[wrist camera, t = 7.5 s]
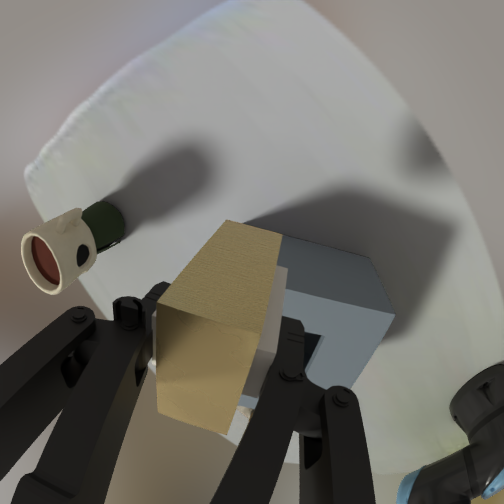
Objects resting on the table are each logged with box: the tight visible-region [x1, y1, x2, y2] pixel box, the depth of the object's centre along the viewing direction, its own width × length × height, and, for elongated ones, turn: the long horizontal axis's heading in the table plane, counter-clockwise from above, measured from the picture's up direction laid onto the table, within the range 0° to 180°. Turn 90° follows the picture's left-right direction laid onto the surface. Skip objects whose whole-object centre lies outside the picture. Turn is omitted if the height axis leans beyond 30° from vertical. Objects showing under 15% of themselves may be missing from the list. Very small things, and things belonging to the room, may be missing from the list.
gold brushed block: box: [156, 220, 283, 435], centre depth 12 cm, size 3×6×8 cm, turn 168°
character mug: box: [21, 202, 124, 295], centre depth 28 cm, size 11×7×13 cm, turn 143°
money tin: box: [238, 235, 396, 409], centre depth 29 cm, size 15×16×11 cm
